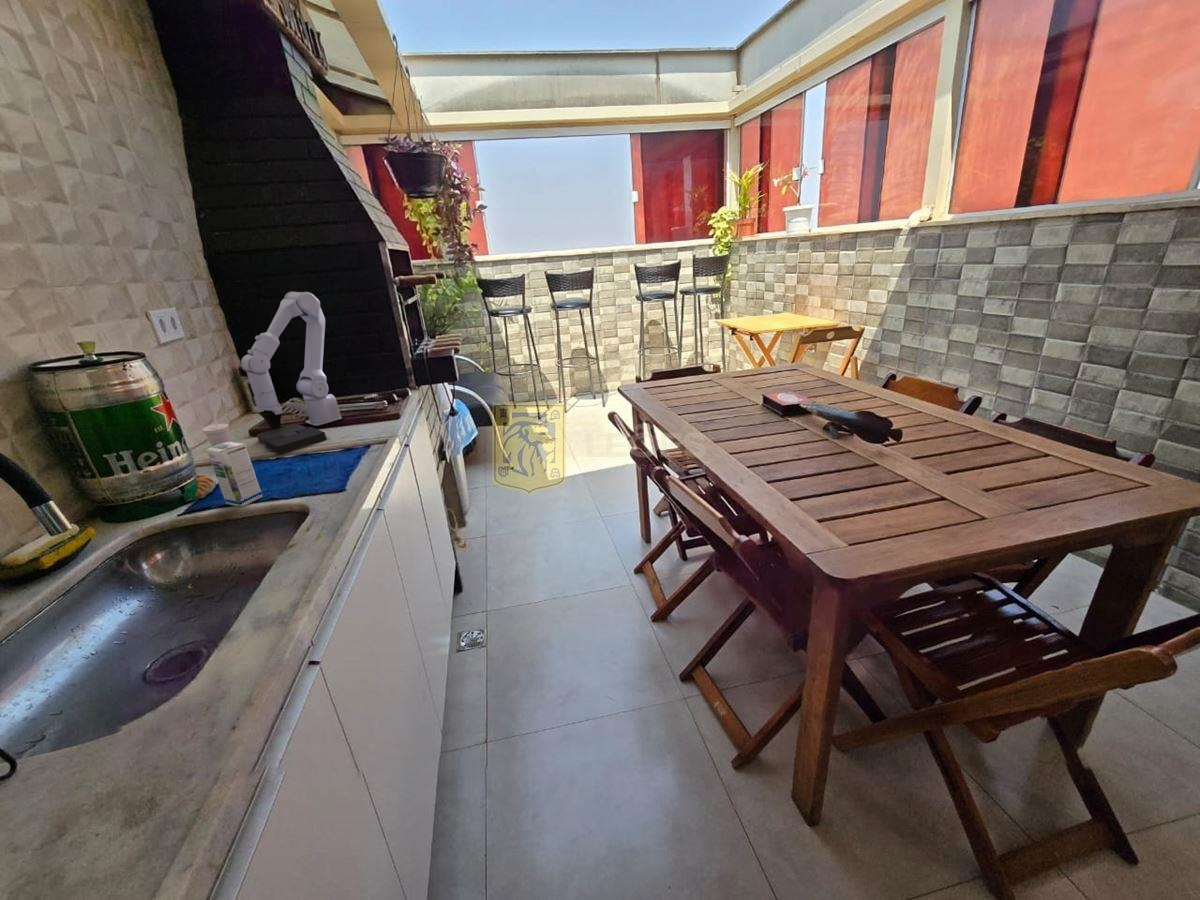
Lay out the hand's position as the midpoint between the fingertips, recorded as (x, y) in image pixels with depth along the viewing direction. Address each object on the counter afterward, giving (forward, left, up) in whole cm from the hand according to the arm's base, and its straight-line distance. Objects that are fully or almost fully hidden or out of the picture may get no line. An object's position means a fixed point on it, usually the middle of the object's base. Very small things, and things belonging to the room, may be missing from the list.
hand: (276, 431), depth 162 cm
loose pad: (0, +6, -1) cm, 6 cm away
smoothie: (+17, +7, -2) cm, 18 cm away
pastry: (+30, +29, -2) cm, 42 cm away
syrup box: (+25, +44, -2) cm, 51 cm away
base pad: (0, +14, -1) cm, 14 cm away
